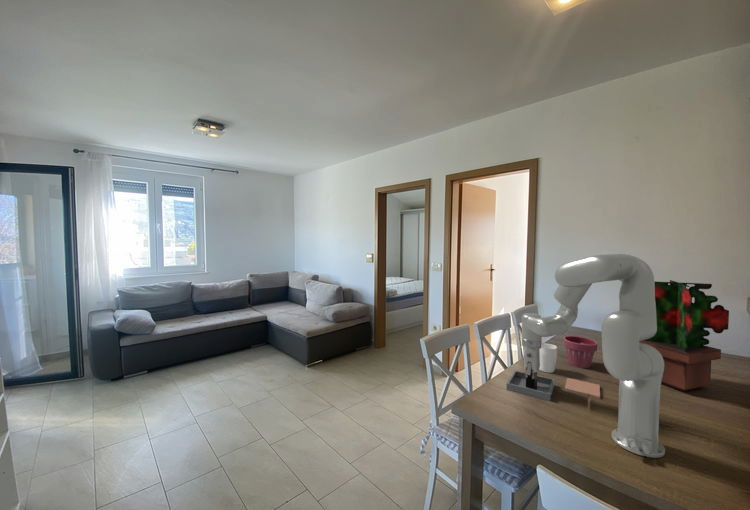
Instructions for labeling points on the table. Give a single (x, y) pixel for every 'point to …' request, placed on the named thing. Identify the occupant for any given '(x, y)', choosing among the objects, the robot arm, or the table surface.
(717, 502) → the table surface
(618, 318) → the robot arm
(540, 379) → the bin
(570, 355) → the plant pot
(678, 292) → the potted plant
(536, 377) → the walnut peg
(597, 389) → the terracotta board
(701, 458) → the table surface
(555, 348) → the cup
